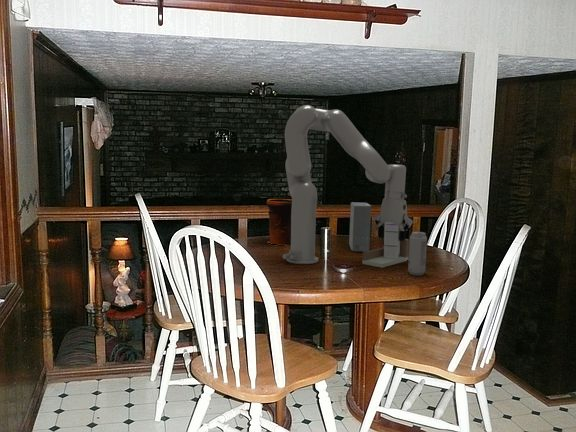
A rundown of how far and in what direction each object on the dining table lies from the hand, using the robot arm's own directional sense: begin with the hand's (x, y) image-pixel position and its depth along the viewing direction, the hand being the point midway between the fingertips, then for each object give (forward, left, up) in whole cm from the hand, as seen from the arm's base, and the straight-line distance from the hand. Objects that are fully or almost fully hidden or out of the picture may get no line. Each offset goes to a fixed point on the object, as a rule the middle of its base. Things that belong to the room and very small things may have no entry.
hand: (391, 238), depth 219 cm
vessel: (-4, +56, -9) cm, 56 cm away
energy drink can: (-12, -18, -9) cm, 24 cm away
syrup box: (0, 0, -8) cm, 8 cm away
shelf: (-3, 0, -9) cm, 9 cm away
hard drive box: (+12, +24, -9) cm, 28 cm away
